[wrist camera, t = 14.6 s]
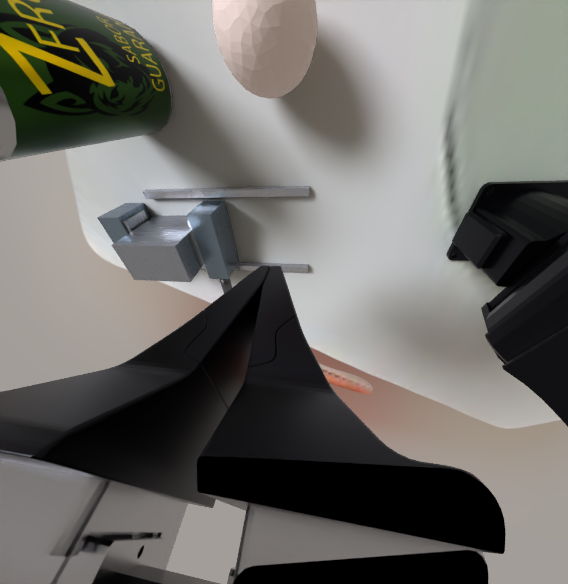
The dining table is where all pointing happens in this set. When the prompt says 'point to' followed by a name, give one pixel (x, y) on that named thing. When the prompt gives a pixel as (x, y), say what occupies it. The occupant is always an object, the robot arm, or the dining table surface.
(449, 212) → the dining table surface
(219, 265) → the block
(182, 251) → the steel block
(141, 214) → the vise bed
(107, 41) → the green soda can
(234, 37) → the egg
